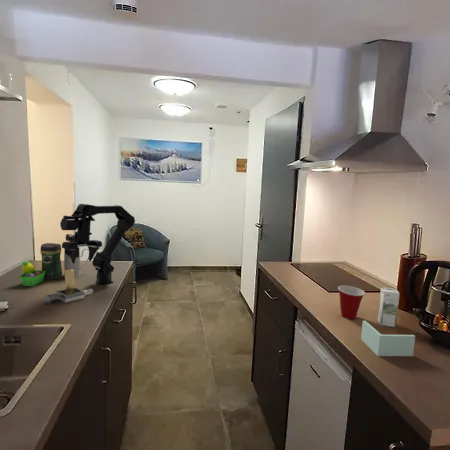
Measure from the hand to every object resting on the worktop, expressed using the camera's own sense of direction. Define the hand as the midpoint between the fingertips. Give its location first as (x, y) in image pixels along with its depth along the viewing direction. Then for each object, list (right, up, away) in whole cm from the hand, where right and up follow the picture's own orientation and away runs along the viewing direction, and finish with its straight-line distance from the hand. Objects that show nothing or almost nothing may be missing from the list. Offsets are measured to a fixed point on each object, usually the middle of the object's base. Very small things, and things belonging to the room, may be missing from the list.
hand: (81, 262), depth 166 cm
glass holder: (-13, -10, +25) cm, 30 cm away
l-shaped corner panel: (+125, -25, -47) cm, 136 cm away
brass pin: (0, -15, -12) cm, 19 cm away
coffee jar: (-23, -10, +16) cm, 30 cm away
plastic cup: (+122, -21, -21) cm, 125 cm away
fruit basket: (-27, -11, +6) cm, 30 cm away
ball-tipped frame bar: (0, -15, -13) cm, 19 cm away
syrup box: (+134, -22, -28) cm, 139 cm away
